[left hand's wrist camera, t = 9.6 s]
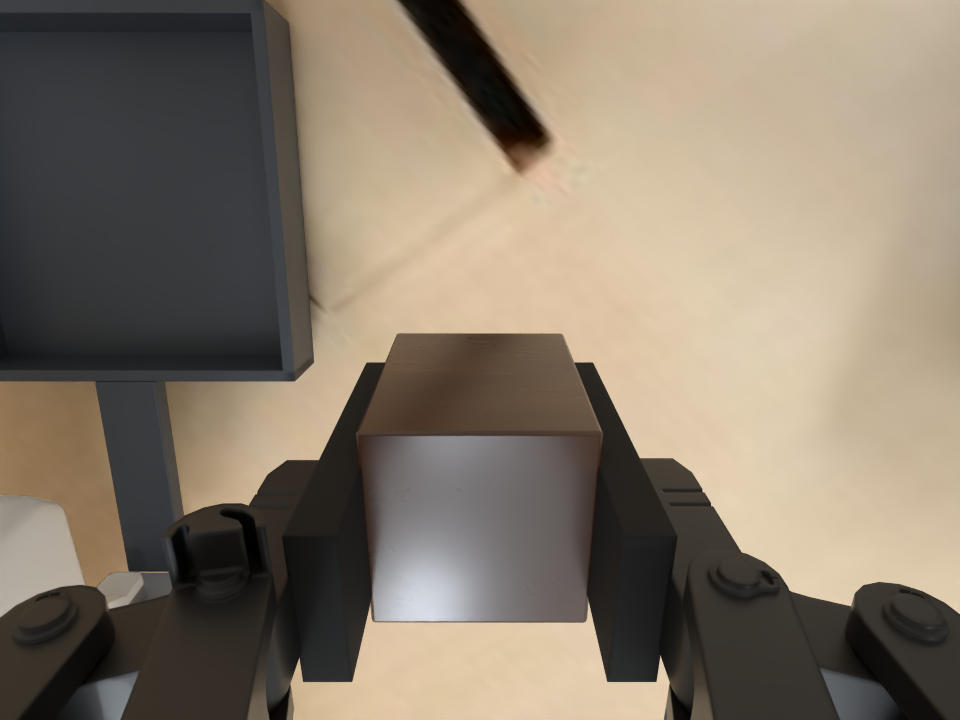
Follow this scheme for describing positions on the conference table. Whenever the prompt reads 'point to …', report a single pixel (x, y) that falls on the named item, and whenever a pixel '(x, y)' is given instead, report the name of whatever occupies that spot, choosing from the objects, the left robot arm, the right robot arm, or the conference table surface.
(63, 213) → the pan
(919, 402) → the conference table surface
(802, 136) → the conference table surface
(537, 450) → the walnut block
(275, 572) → the left robot arm
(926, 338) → the conference table surface
